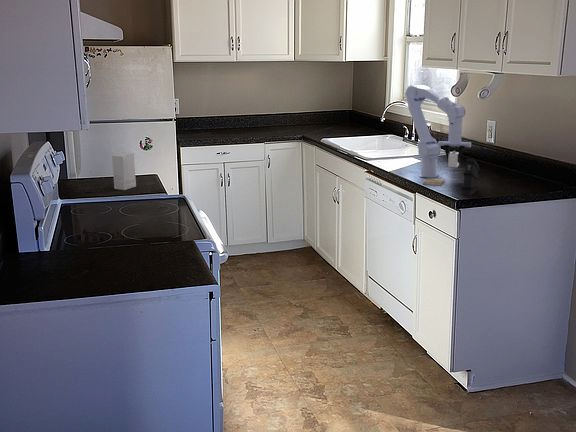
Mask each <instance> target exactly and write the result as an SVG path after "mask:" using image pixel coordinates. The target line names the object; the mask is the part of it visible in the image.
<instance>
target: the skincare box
mask: <svg viewBox="0 0 576 432" xmlns="http://www.w3.org/2000/svg"><path fill="white" fill-rule="evenodd" d="M111 162H112V163H111V164H112V175H113V176H112V177H113V187H114V190H120V191H121V190H122V191H126V190H129V189H132V188H135V187H137V180H136V179H137V178H136V168H135V167H136V166H135V154H134V153H133V152H121V153H116V154H112V155H111Z"/></svg>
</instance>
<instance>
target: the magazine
mask: <svg viewBox="0 0 576 432" xmlns="http://www.w3.org/2000/svg"><path fill="white" fill-rule="evenodd" d="M464 163H465V169H464V172H463V176H464V177H463V186H462V187H461V188H462V189H461V190H462V195H463V196H464V195H465V196H466V197H471V196H472V195H473V194H474V193H477V188H479V186H478V180H479V176H478V175H479V172H480V170H481V169H480V166H479V164H478V162H477V161H476V160H475V159H474V158H466V160H465V161H464Z"/></svg>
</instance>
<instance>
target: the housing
mask: <svg viewBox="0 0 576 432" xmlns="http://www.w3.org/2000/svg"><path fill="white" fill-rule="evenodd" d="M458 153H459V151H456V150H453V151H450V153H449V158H448V162H447V165H448V166H447V168H458V167H459V166H460V163H458Z"/></svg>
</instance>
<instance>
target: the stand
mask: <svg viewBox="0 0 576 432" xmlns="http://www.w3.org/2000/svg"><path fill="white" fill-rule="evenodd" d="M444 183H445V180H444V179H443V178H429V177H426V179H424V180H423V182H422V185H426V186H440V187H441V186H442V185H443V184H444Z"/></svg>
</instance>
